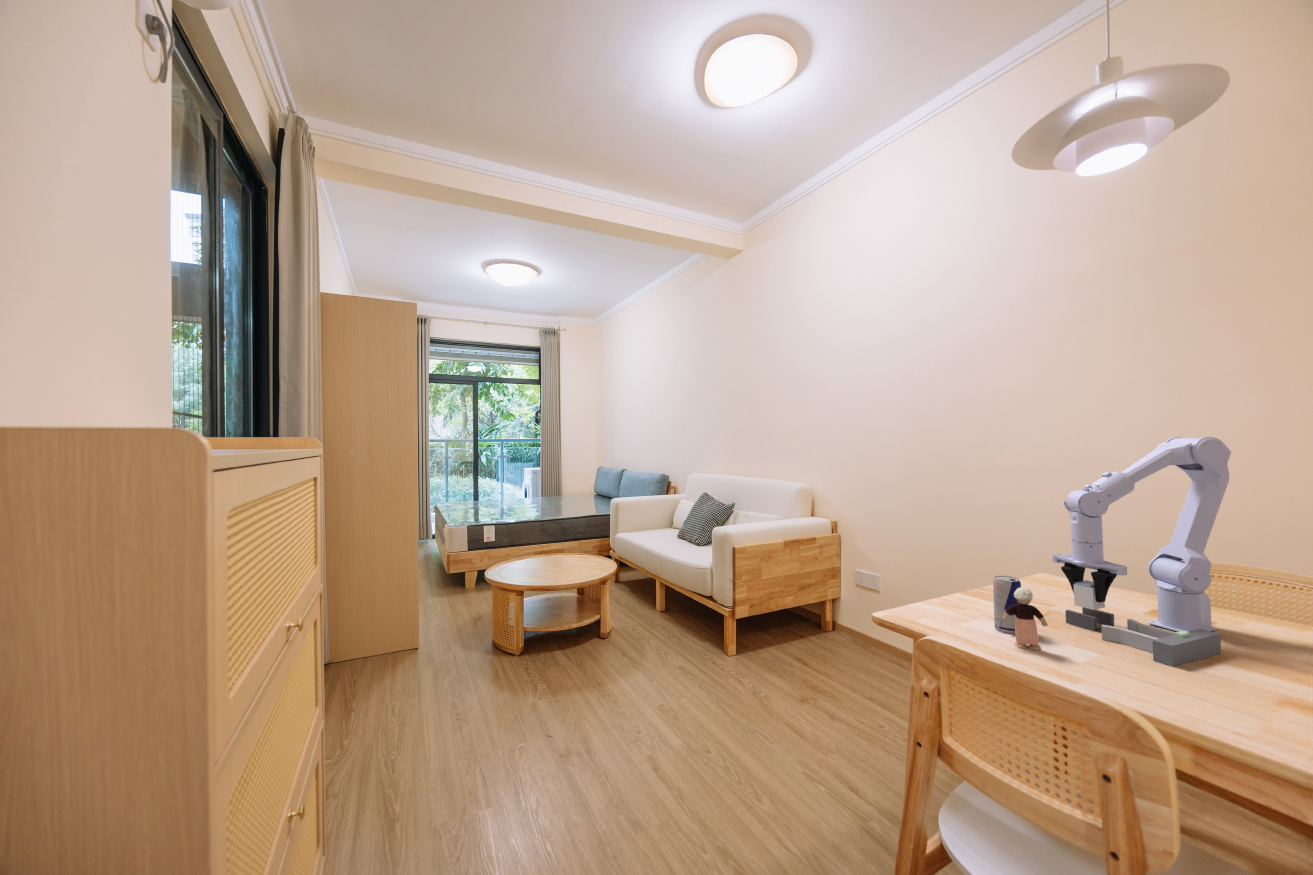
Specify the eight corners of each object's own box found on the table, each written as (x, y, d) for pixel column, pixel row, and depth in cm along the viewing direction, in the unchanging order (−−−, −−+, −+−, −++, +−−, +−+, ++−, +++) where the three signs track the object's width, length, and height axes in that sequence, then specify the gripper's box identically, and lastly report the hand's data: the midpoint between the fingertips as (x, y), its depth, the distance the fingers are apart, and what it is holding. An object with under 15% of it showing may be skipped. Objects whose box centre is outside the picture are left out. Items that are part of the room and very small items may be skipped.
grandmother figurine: (1042, 645, 109) (1040, 586, 109) (1050, 652, 106) (1047, 591, 106) (1001, 641, 112) (999, 583, 112) (1006, 648, 108) (1004, 588, 108)
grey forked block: (1137, 629, 116) (1136, 609, 116) (1221, 653, 103) (1220, 630, 103) (1091, 640, 111) (1090, 619, 111) (1172, 666, 98) (1171, 642, 98)
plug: (1085, 602, 123) (1084, 579, 123) (1104, 607, 119) (1103, 583, 119) (1074, 604, 121) (1073, 581, 121) (1093, 609, 117) (1092, 586, 117)
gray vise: (1100, 614, 126) (1099, 602, 126) (1132, 623, 120) (1131, 610, 120) (1064, 622, 122) (1064, 609, 122) (1095, 631, 116) (1095, 618, 116)
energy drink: (1027, 634, 115) (1025, 581, 115) (1000, 633, 116) (999, 581, 116) (1015, 626, 120) (1013, 575, 120) (990, 625, 121) (988, 575, 121)
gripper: (1043, 537, 126) (1045, 592, 126) (1111, 548, 112) (1114, 610, 112) (1062, 535, 128) (1064, 589, 128) (1132, 545, 114) (1134, 605, 114)
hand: (1089, 598), depth 120 cm, fingers closed on plug, 4 cm apart
